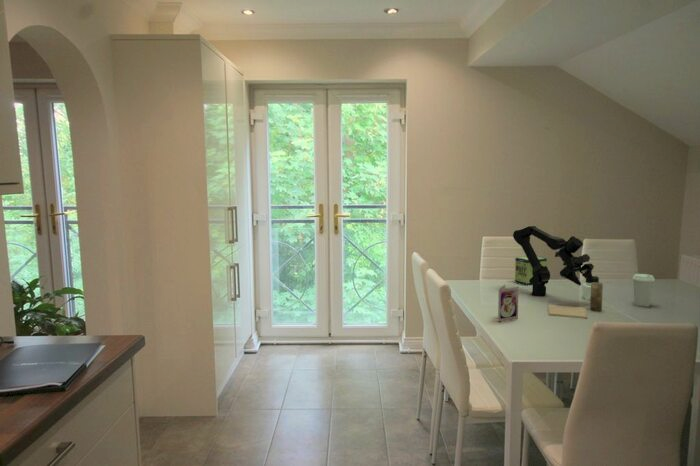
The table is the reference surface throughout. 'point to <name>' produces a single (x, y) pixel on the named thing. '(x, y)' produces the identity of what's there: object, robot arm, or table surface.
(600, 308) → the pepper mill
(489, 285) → the table surface
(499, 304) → the greeting card
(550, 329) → the table surface
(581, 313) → the beige square board
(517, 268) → the protein box
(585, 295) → the medicine bottle
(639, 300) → the coffee cup
